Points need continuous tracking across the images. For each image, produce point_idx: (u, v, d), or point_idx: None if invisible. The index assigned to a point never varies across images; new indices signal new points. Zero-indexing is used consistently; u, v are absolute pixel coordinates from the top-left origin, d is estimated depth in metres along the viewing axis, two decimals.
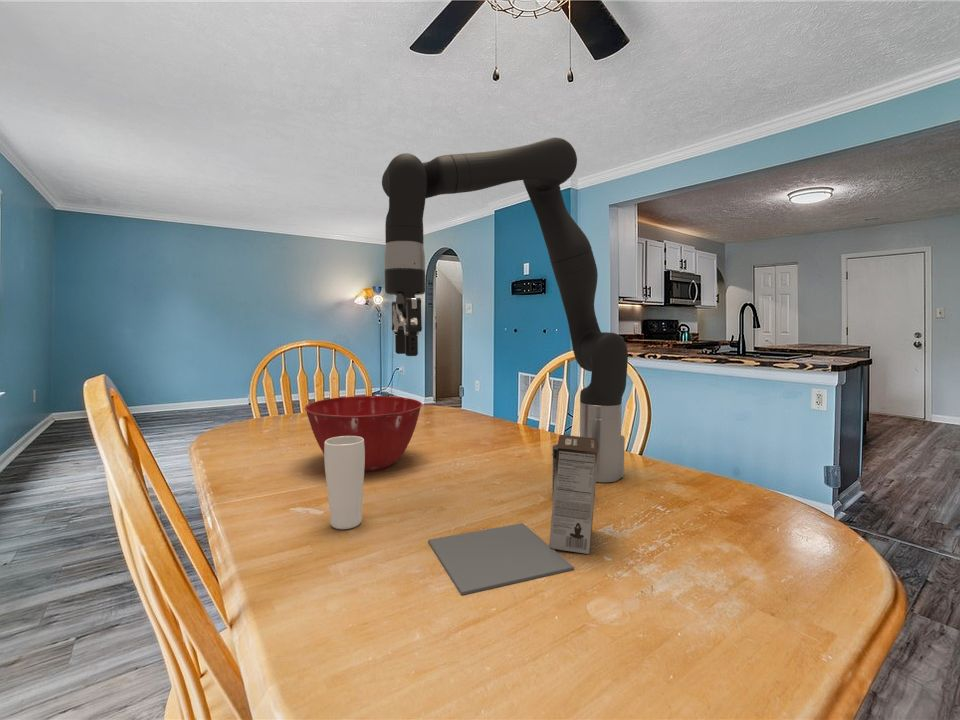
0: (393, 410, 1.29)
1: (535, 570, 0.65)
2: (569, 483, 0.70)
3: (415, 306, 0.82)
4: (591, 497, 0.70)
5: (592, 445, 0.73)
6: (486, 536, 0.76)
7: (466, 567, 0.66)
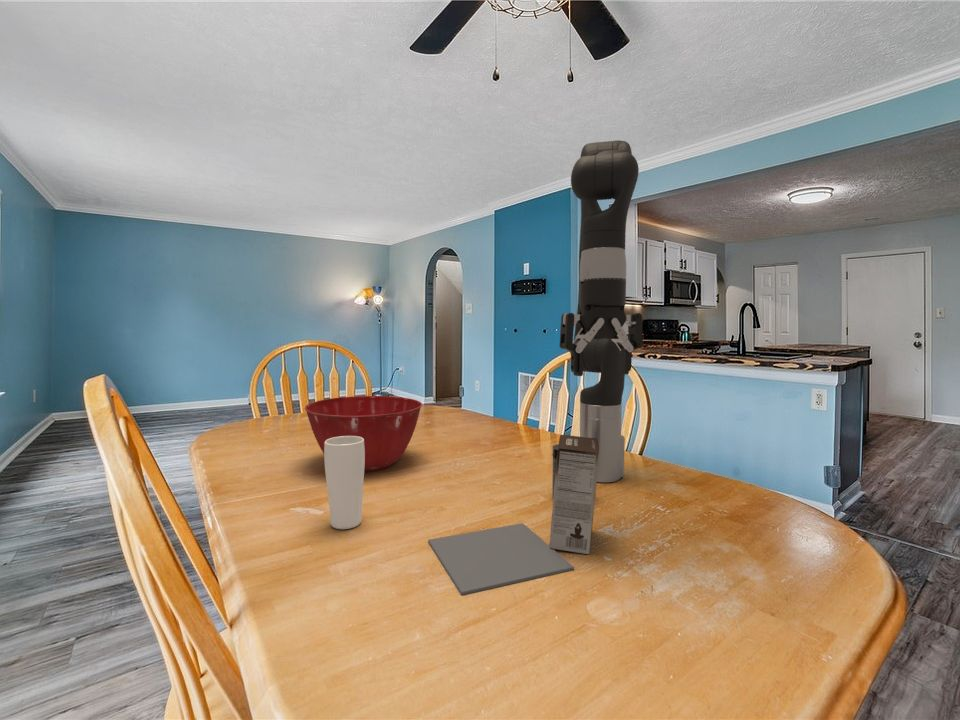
0: (393, 410, 1.29)
1: (535, 570, 0.65)
2: (570, 483, 0.70)
3: None
4: (591, 497, 0.70)
5: (593, 445, 0.72)
6: (486, 536, 0.76)
7: (466, 567, 0.66)
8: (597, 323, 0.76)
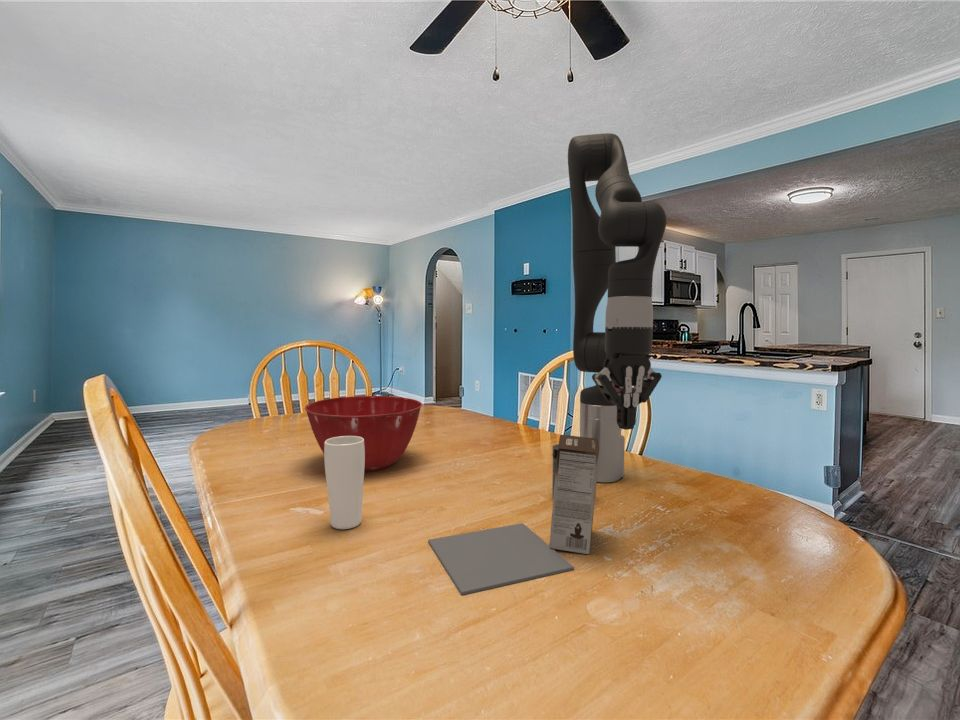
0: (393, 410, 1.29)
1: (535, 570, 0.65)
2: (570, 483, 0.70)
3: None
4: (591, 497, 0.70)
5: (593, 445, 0.72)
6: (486, 536, 0.76)
7: (466, 567, 0.66)
8: (625, 371, 0.75)
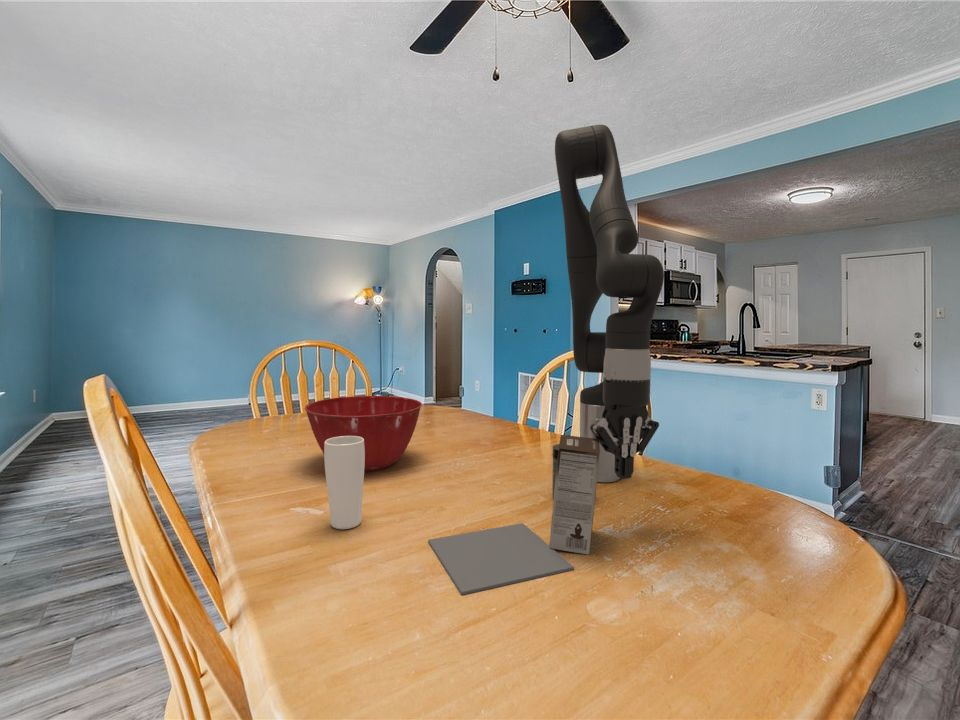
0: (393, 410, 1.29)
1: (535, 570, 0.65)
2: (570, 484, 0.70)
3: None
4: (592, 498, 0.70)
5: (594, 446, 0.72)
6: (486, 536, 0.76)
7: (466, 567, 0.66)
8: (623, 423, 0.76)
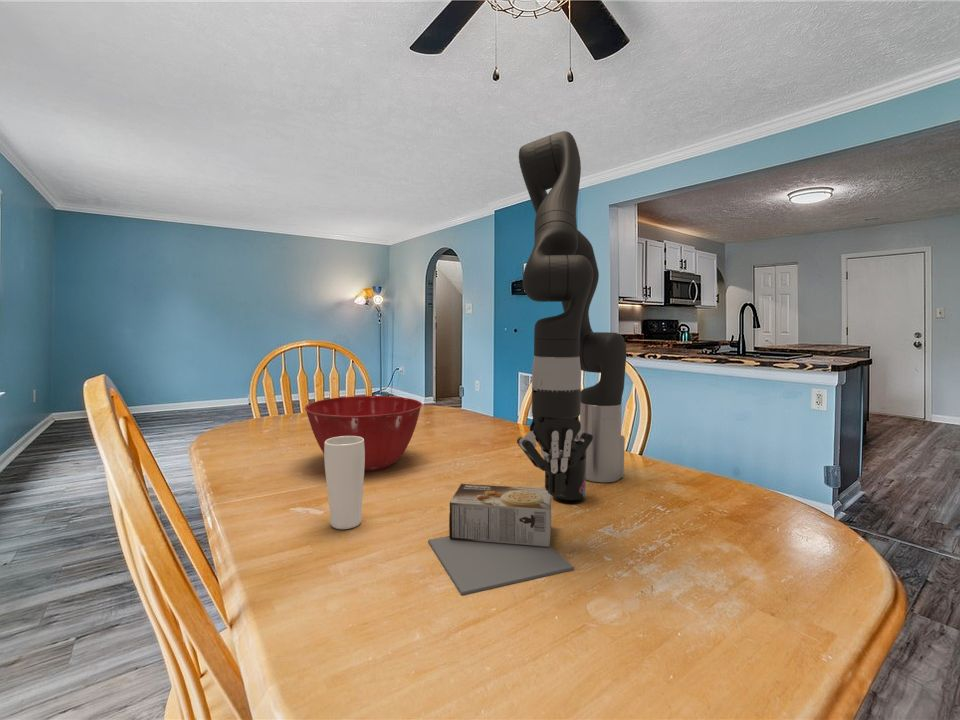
0: (393, 410, 1.29)
1: (535, 570, 0.65)
2: (481, 528, 0.73)
3: None
4: (492, 508, 0.73)
5: None
6: None
7: (466, 567, 0.66)
8: (551, 436, 0.70)
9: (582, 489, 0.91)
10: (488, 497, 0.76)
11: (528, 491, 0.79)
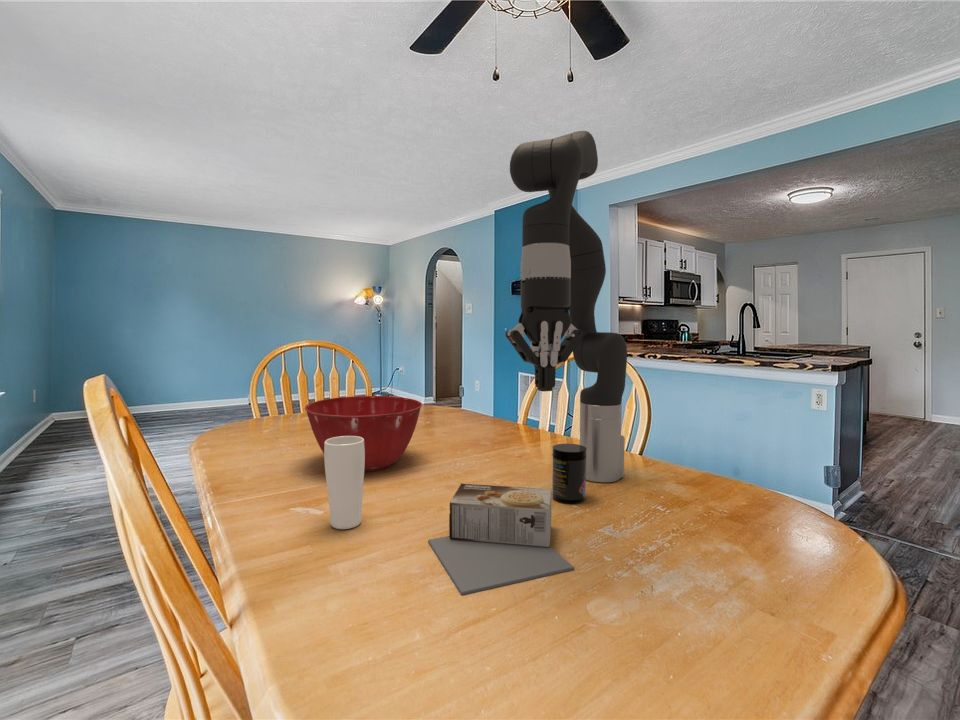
0: (393, 410, 1.29)
1: (535, 570, 0.65)
2: (481, 528, 0.73)
3: None
4: (492, 508, 0.73)
5: None
6: None
7: (466, 567, 0.66)
8: (540, 327, 0.68)
9: (582, 489, 0.91)
10: (488, 497, 0.76)
11: (528, 491, 0.79)
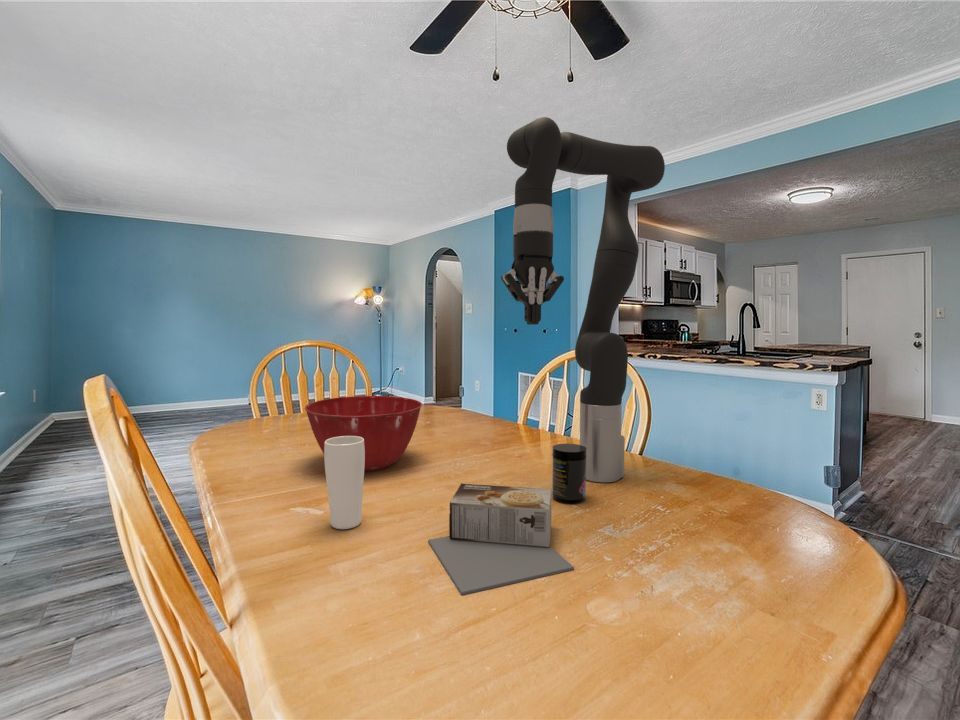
0: (393, 410, 1.29)
1: (535, 570, 0.65)
2: (481, 528, 0.73)
3: None
4: (492, 508, 0.73)
5: None
6: None
7: (466, 567, 0.66)
8: (528, 271, 0.86)
9: (582, 489, 0.91)
10: (488, 497, 0.76)
11: (528, 491, 0.79)
